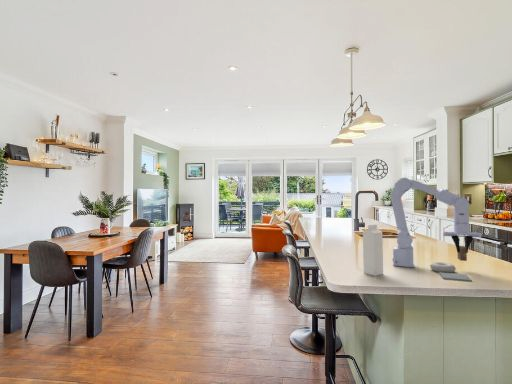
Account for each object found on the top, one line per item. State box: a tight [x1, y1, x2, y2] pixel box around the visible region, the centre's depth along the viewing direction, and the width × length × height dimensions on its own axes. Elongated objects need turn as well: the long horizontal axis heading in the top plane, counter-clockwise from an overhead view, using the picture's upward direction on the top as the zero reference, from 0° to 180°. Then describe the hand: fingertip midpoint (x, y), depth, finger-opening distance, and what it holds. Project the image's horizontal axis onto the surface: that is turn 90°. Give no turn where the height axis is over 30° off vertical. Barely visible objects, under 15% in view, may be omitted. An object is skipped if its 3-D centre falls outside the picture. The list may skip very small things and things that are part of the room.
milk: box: [362, 224, 384, 277], centre depth 133 cm, size 6×6×22 cm
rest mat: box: [438, 272, 473, 282], centre depth 125 cm, size 10×10×1 cm
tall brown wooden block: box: [457, 245, 468, 262], centre depth 136 cm, size 2×6×6 cm, turn 155°
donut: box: [429, 261, 457, 273], centre depth 136 cm, size 10×4×10 cm
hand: (462, 252), depth 135 cm, fingers closed on tall brown wooden block, 2 cm apart
